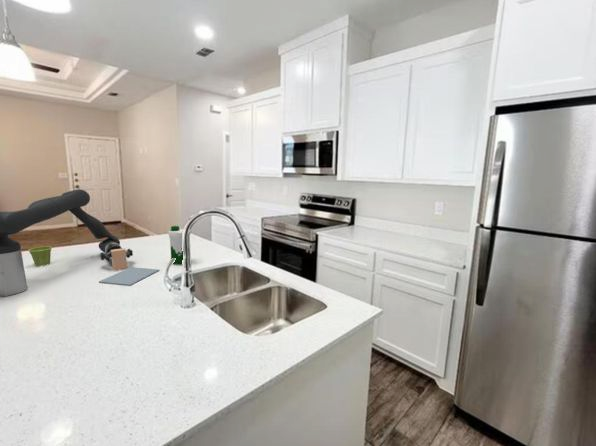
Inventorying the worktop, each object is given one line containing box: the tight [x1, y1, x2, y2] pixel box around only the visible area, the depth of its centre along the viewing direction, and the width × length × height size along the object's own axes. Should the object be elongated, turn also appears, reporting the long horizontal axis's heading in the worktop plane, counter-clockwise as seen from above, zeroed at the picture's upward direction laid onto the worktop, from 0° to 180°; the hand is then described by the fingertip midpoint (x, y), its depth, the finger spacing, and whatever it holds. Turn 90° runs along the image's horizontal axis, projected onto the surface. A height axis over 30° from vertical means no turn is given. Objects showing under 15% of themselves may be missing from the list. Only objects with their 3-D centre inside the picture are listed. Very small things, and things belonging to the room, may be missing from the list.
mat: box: [98, 266, 160, 287], centre depth 142 cm, size 20×16×1 cm
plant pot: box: [28, 245, 53, 267], centre depth 155 cm, size 9×9×9 cm
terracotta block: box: [111, 247, 128, 271], centre depth 151 cm, size 4×6×10 cm, turn 129°
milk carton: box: [167, 225, 184, 266], centre depth 161 cm, size 9×9×20 cm
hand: (118, 257), depth 150 cm, fingers open, 8 cm apart
